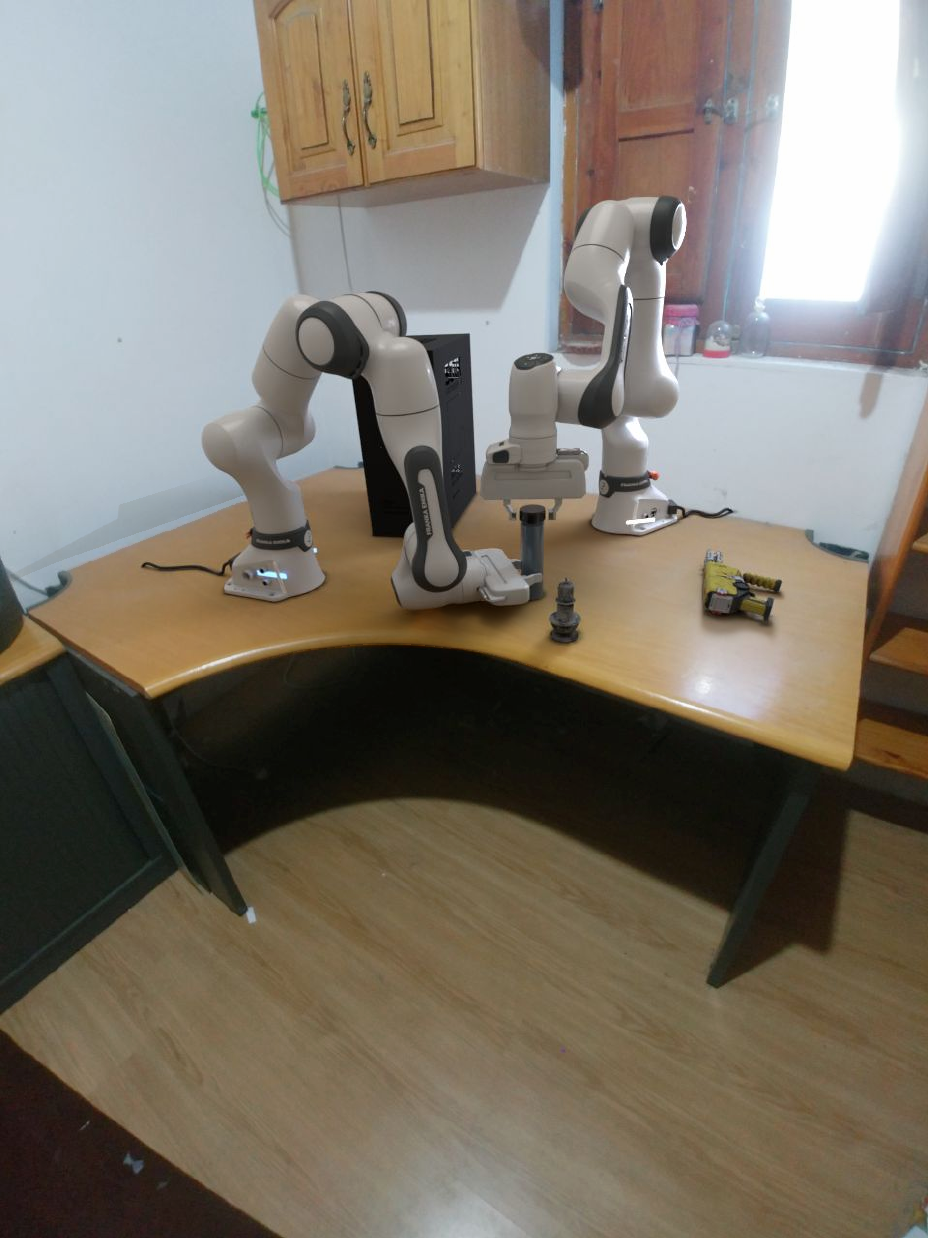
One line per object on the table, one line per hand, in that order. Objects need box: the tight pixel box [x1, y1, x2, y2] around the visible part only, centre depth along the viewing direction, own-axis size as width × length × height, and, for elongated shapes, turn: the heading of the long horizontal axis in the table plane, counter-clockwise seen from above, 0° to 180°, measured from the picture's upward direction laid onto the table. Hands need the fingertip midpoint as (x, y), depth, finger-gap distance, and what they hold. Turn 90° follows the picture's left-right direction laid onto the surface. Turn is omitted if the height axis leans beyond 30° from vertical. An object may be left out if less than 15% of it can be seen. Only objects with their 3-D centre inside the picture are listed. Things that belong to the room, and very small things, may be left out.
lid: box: [518, 503, 547, 524], centre depth 119 cm, size 5×5×2 cm
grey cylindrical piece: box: [520, 521, 545, 601], centre depth 123 cm, size 5×5×18 cm
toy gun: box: [702, 548, 783, 622], centre depth 122 cm, size 5×24×15 cm
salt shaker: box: [548, 576, 582, 643], centre depth 110 cm, size 6×6×12 cm
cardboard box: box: [351, 332, 477, 538], centre depth 163 cm, size 38×20×45 cm, turn 167°
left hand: (536, 570), depth 125 cm, fingers closed on grey cylindrical piece, 5 cm apart
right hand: (532, 519), depth 119 cm, fingers open, 6 cm apart
